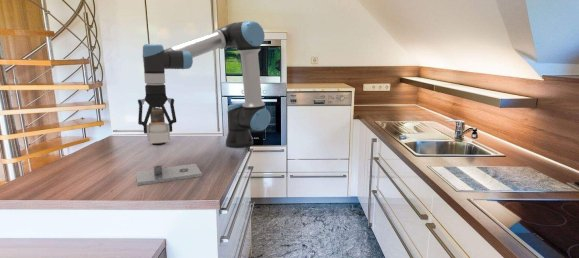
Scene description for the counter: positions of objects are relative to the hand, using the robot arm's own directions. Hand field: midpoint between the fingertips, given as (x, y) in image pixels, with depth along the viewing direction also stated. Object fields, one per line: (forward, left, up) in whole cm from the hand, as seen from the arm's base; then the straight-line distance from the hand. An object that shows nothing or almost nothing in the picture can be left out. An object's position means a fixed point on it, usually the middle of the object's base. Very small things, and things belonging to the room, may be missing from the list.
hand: (158, 140), depth 135 cm
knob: (0, 0, 0) cm, 0 cm away
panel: (-2, +4, -14) cm, 15 cm away
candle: (-3, -52, -14) cm, 54 cm away
